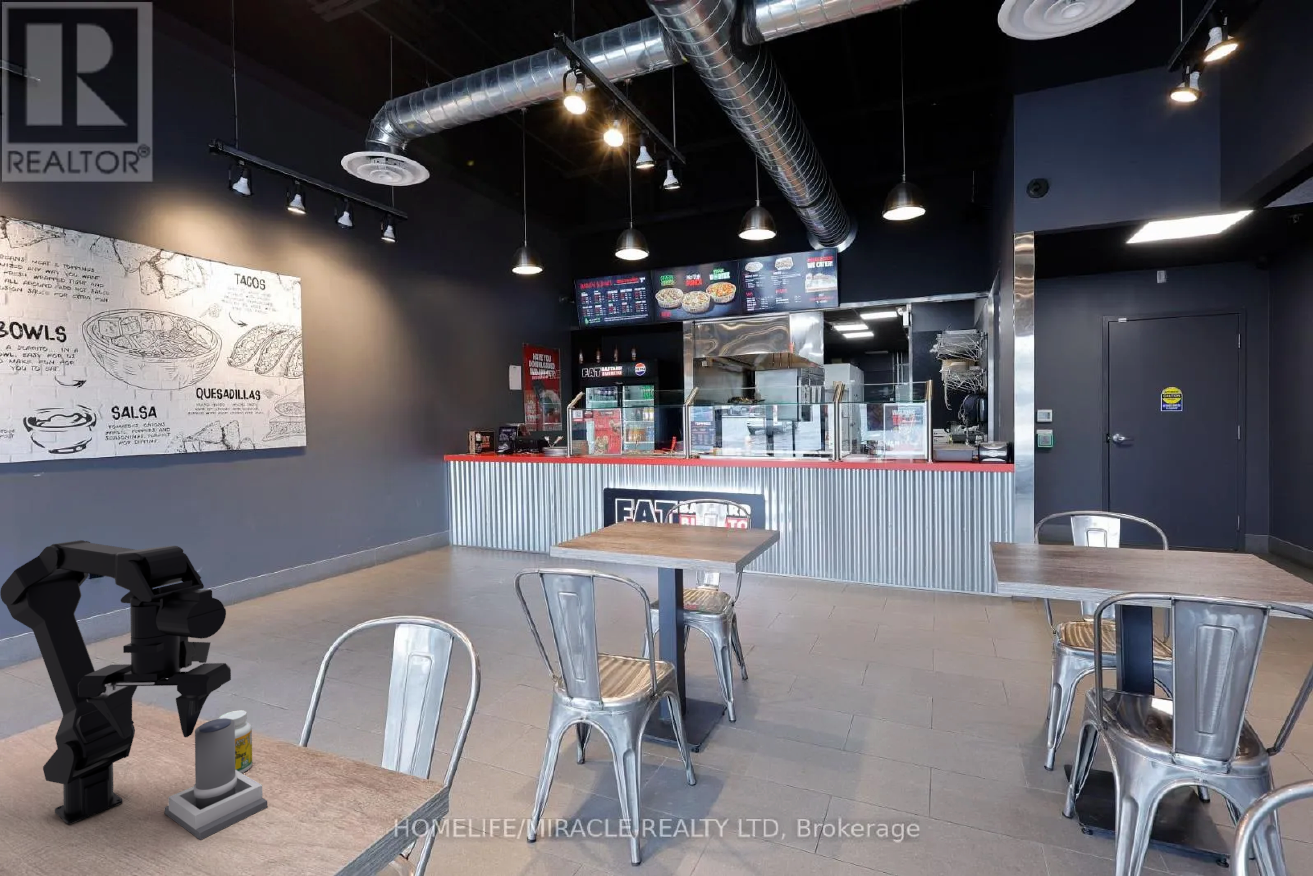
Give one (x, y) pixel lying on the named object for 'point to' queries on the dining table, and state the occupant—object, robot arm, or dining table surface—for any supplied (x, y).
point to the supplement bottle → (241, 740)
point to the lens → (214, 762)
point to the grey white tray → (216, 808)
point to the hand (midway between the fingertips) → (157, 736)
